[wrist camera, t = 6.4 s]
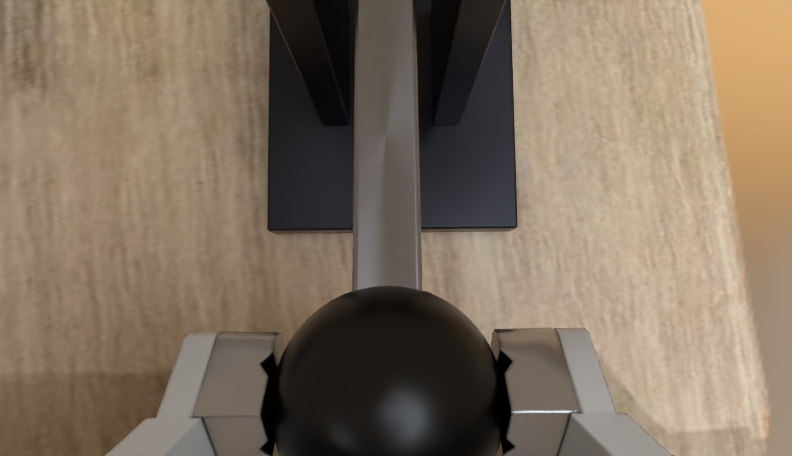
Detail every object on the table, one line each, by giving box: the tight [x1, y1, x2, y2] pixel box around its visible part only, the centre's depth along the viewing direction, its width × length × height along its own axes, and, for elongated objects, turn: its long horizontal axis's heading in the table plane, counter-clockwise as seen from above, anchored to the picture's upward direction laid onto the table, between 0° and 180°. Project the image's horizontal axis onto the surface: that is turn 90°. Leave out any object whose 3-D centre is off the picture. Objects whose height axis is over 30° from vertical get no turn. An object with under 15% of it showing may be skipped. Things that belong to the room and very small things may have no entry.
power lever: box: [271, 0, 505, 456], centre depth 11 cm, size 13×4×4 cm, turn 1°
